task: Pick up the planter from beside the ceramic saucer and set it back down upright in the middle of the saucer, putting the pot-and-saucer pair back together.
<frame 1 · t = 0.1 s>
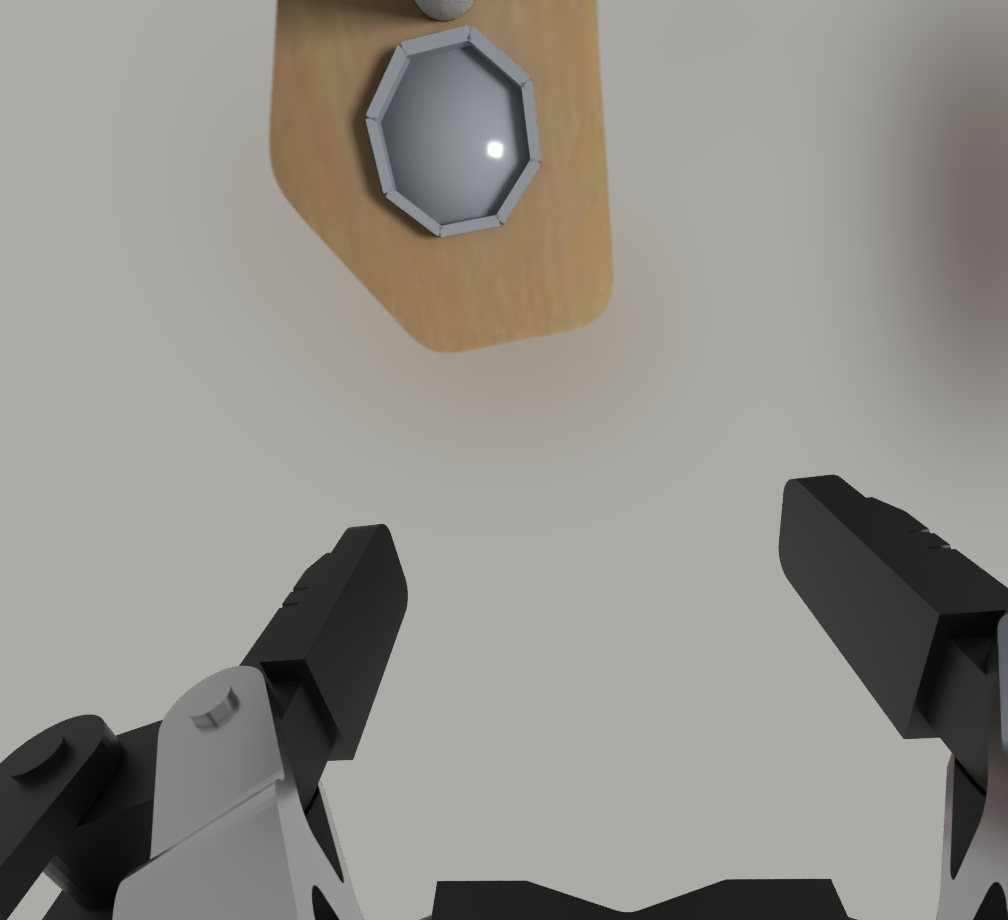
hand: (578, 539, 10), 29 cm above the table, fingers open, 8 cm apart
saucer: (457, 143, 31), on the table
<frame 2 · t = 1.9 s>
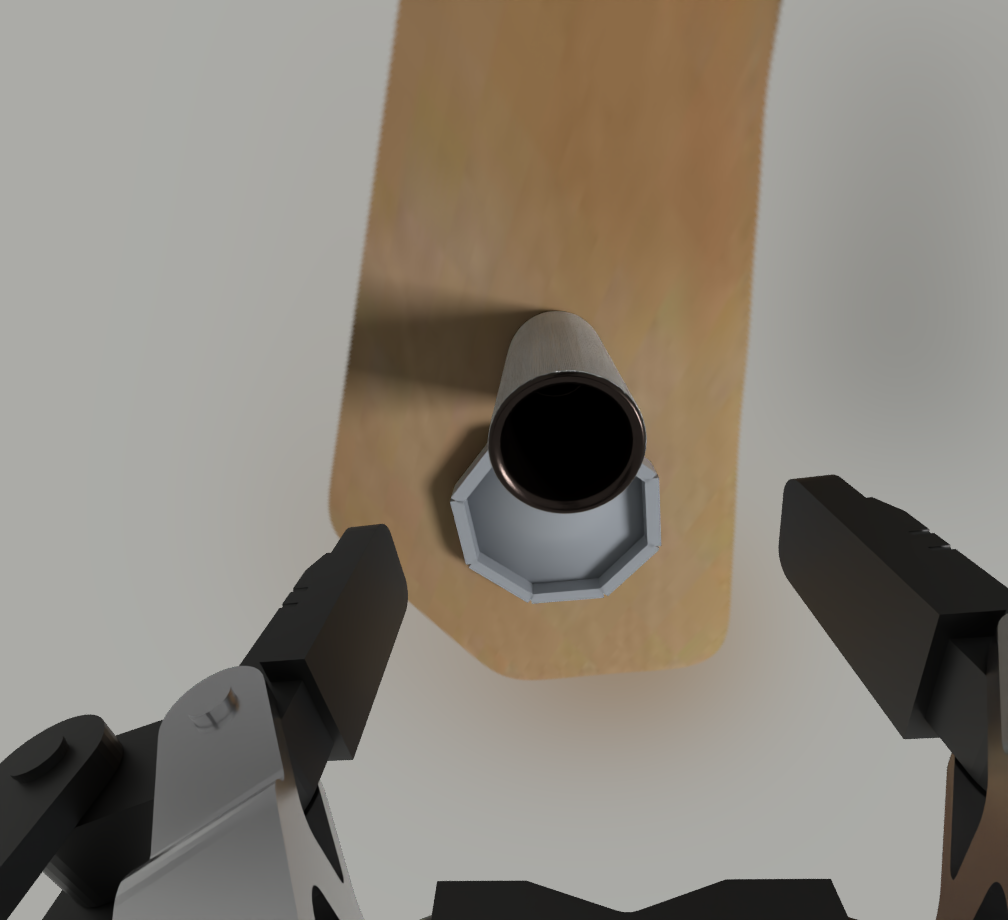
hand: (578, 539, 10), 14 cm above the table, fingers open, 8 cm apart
saucer: (555, 509, 26), on the table
planter: (554, 357, 23), on the table
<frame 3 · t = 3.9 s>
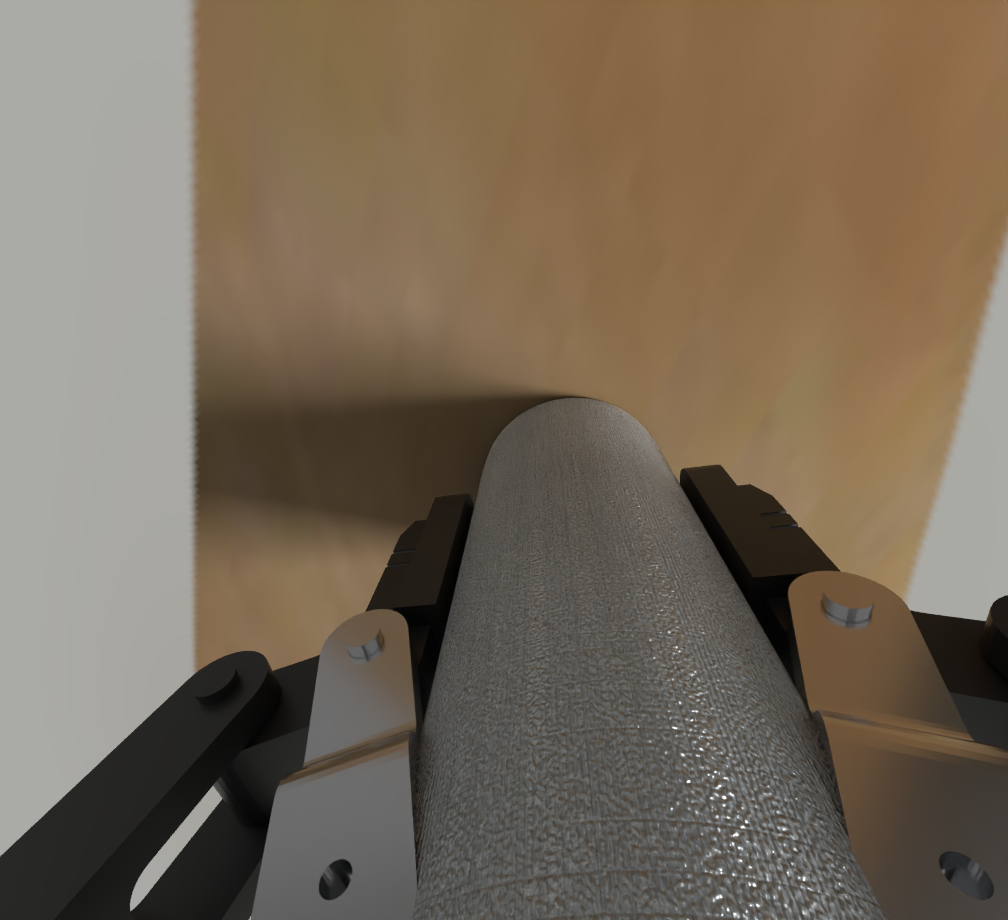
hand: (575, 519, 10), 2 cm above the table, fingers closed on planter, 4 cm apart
planter: (570, 476, 12), on the table, touching gripper
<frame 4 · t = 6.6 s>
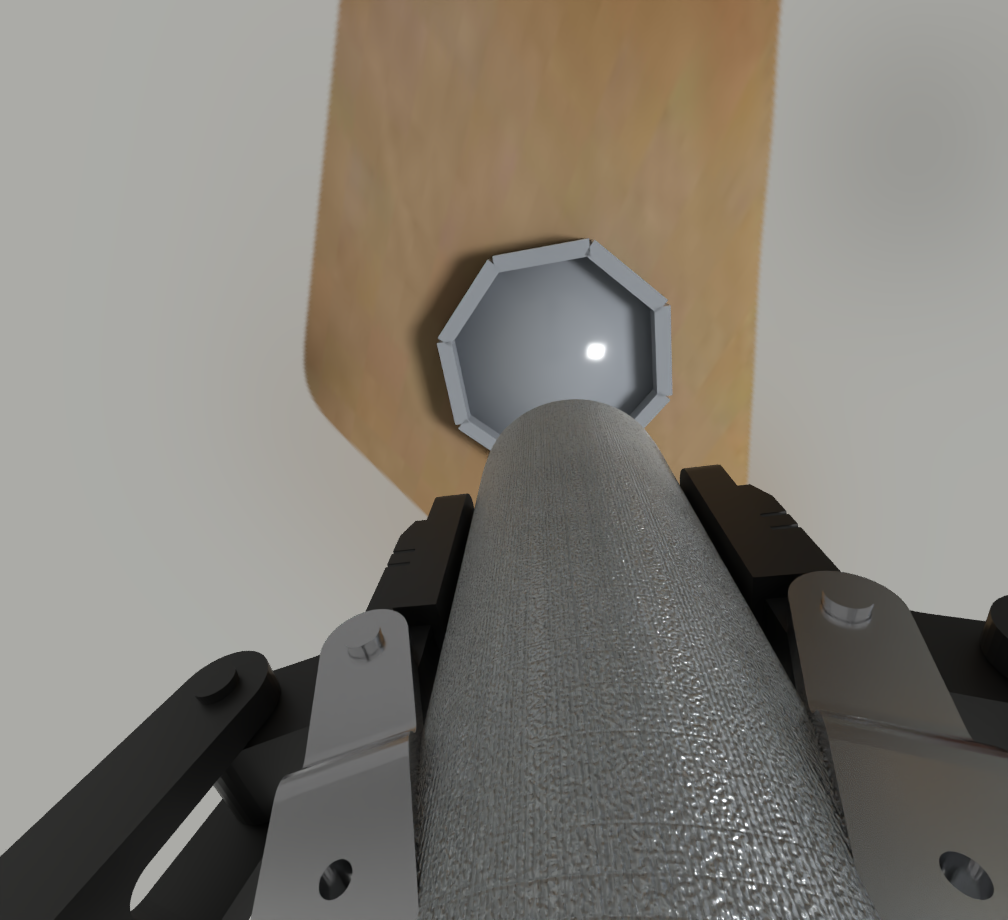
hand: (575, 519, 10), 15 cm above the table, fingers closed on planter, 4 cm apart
saucer: (554, 362, 24), on the table
planter: (570, 477, 12), point 13 cm above the table, touching gripper
when the fingers open (4 cm above the table, at t = 9.3 s): planter drops 1 cm, resting on saucer.
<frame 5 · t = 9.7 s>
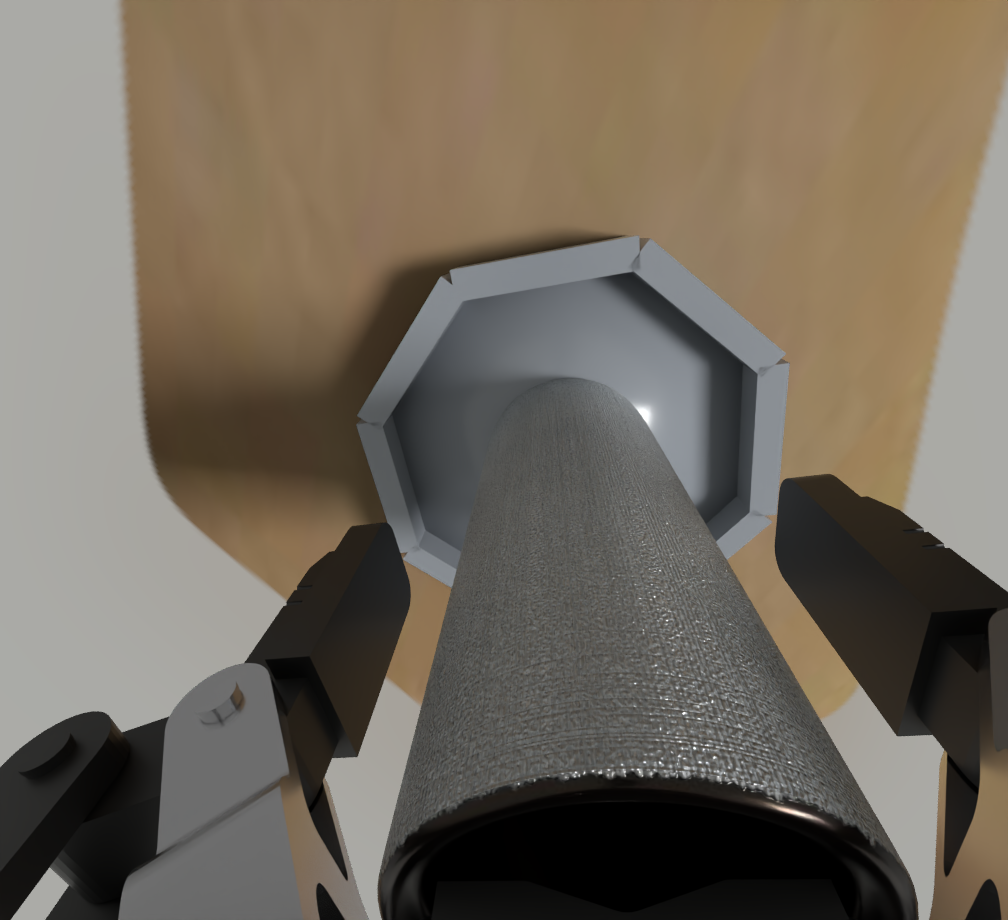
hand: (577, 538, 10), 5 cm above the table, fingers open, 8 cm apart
saucer: (566, 448, 14), on the table
planter: (568, 451, 13), resting on saucer
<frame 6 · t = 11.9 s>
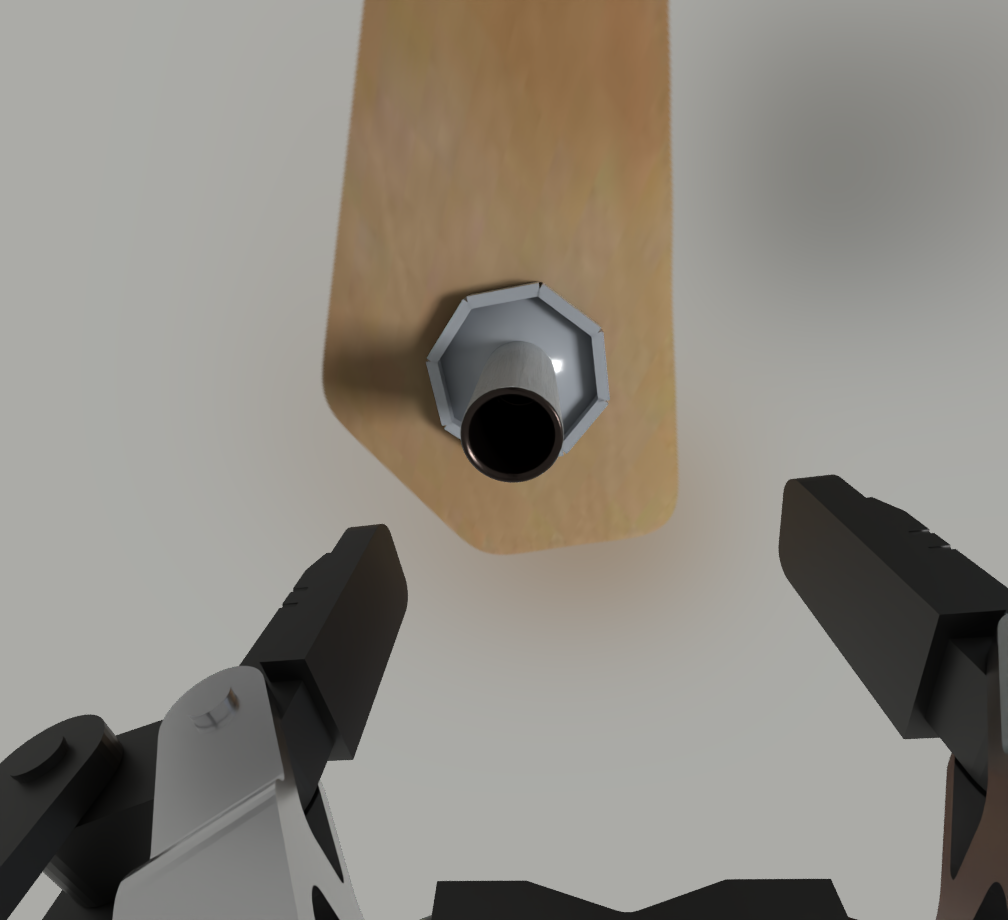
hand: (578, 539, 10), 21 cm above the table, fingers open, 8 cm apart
saucer: (519, 375, 30), on the table
planter: (519, 375, 30), resting on saucer
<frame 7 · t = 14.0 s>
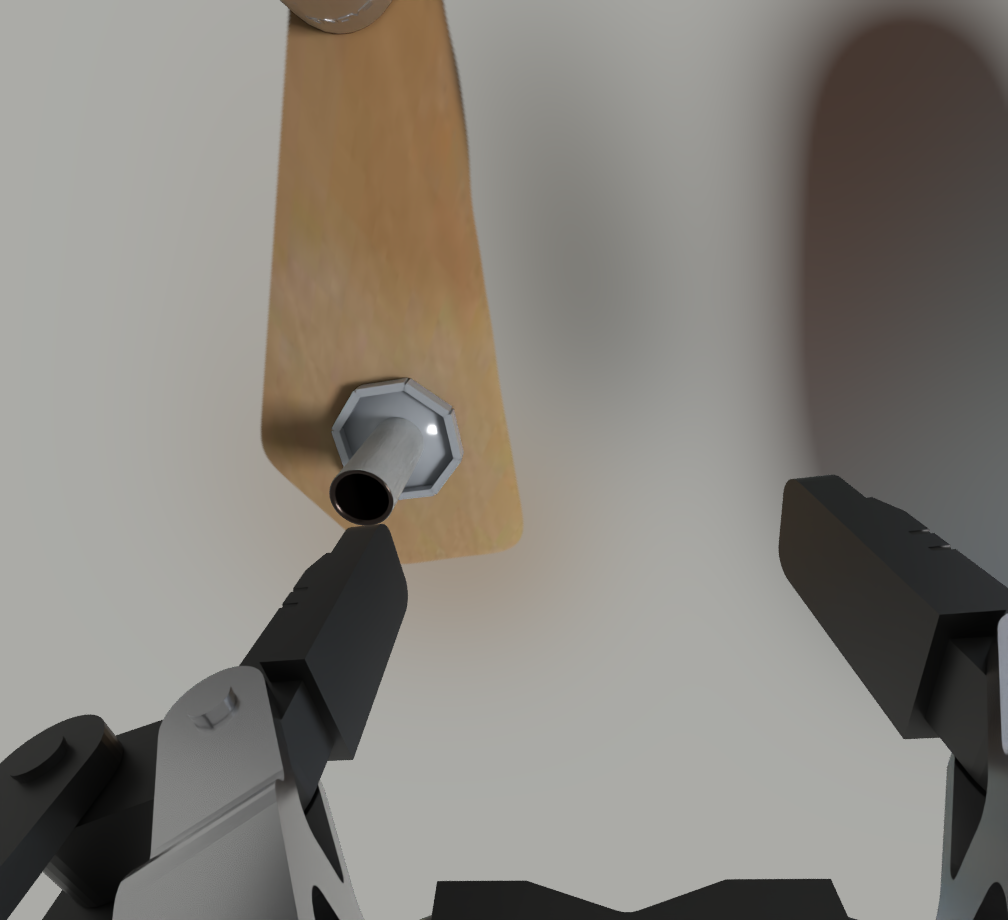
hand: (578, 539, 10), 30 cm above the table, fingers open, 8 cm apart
saucer: (400, 439, 42), on the table
planter: (400, 439, 42), resting on saucer
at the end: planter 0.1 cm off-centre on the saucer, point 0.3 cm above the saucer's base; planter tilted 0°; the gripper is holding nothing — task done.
